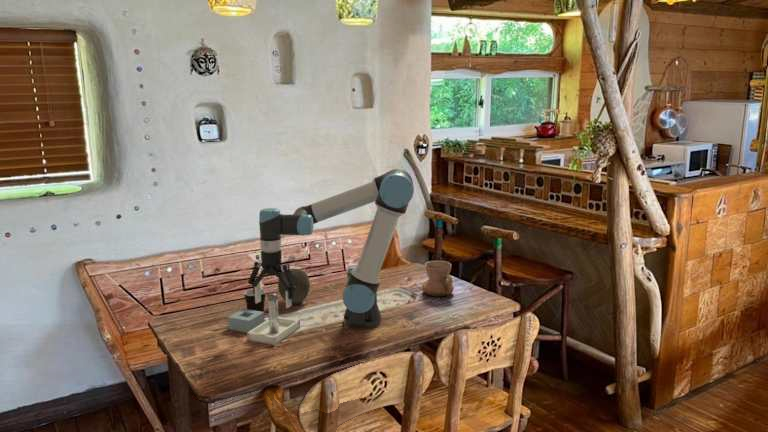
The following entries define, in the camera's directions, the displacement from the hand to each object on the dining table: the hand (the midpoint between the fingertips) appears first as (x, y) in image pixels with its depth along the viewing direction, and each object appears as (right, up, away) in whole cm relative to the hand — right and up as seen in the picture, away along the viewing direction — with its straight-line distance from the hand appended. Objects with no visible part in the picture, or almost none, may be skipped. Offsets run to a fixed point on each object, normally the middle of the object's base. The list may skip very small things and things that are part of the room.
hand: (273, 304), depth 224 cm
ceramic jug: (+67, -2, +47) cm, 82 cm away
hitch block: (-12, -10, +10) cm, 18 cm away
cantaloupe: (+2, -5, +36) cm, 37 cm away
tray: (0, -12, +2) cm, 12 cm away
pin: (0, -11, +2) cm, 11 cm away
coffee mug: (-11, -8, +23) cm, 26 cm away
